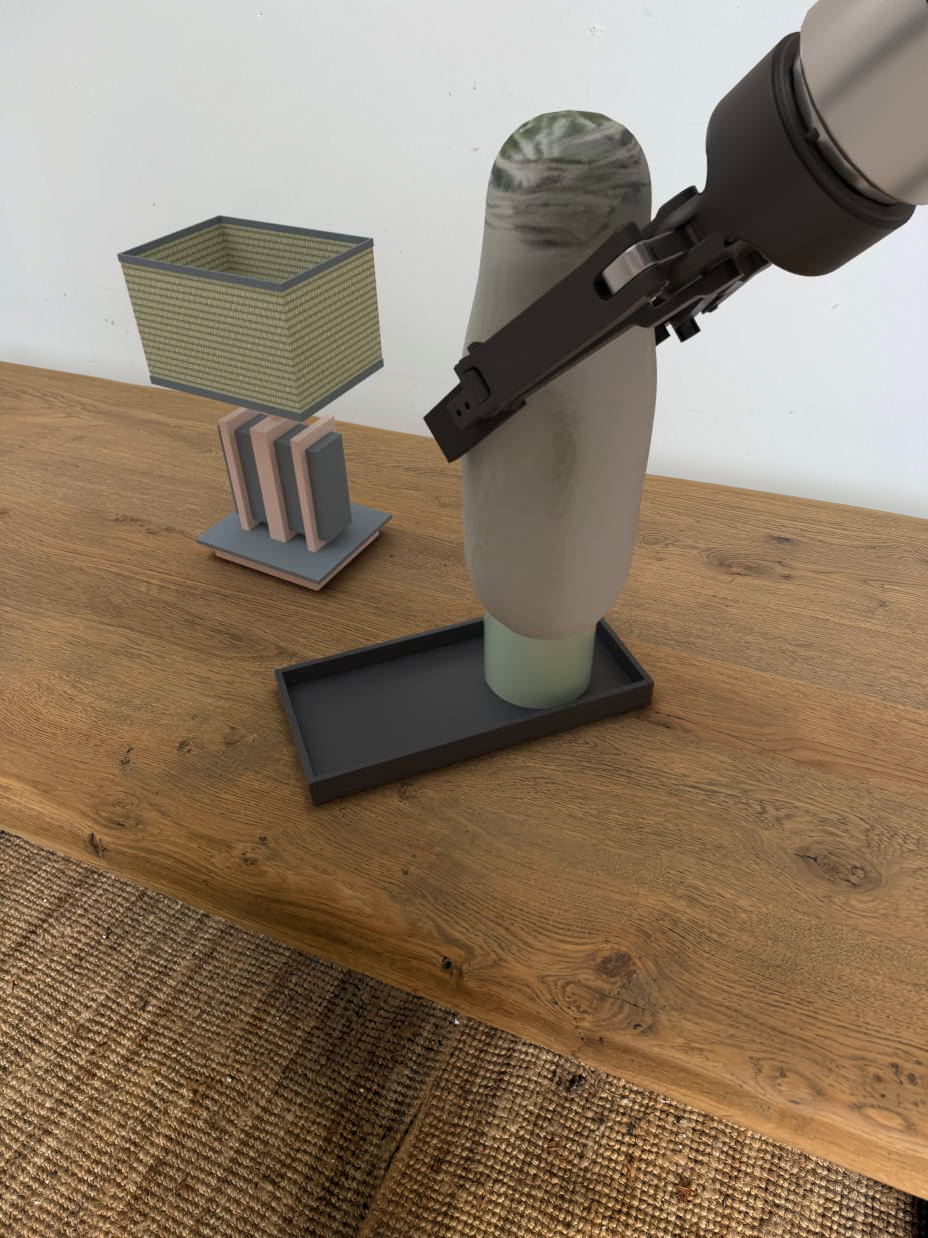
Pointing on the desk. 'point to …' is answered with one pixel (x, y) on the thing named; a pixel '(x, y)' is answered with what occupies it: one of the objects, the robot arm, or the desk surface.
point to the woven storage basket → (268, 376)
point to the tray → (429, 706)
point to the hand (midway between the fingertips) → (514, 403)
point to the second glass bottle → (536, 666)
